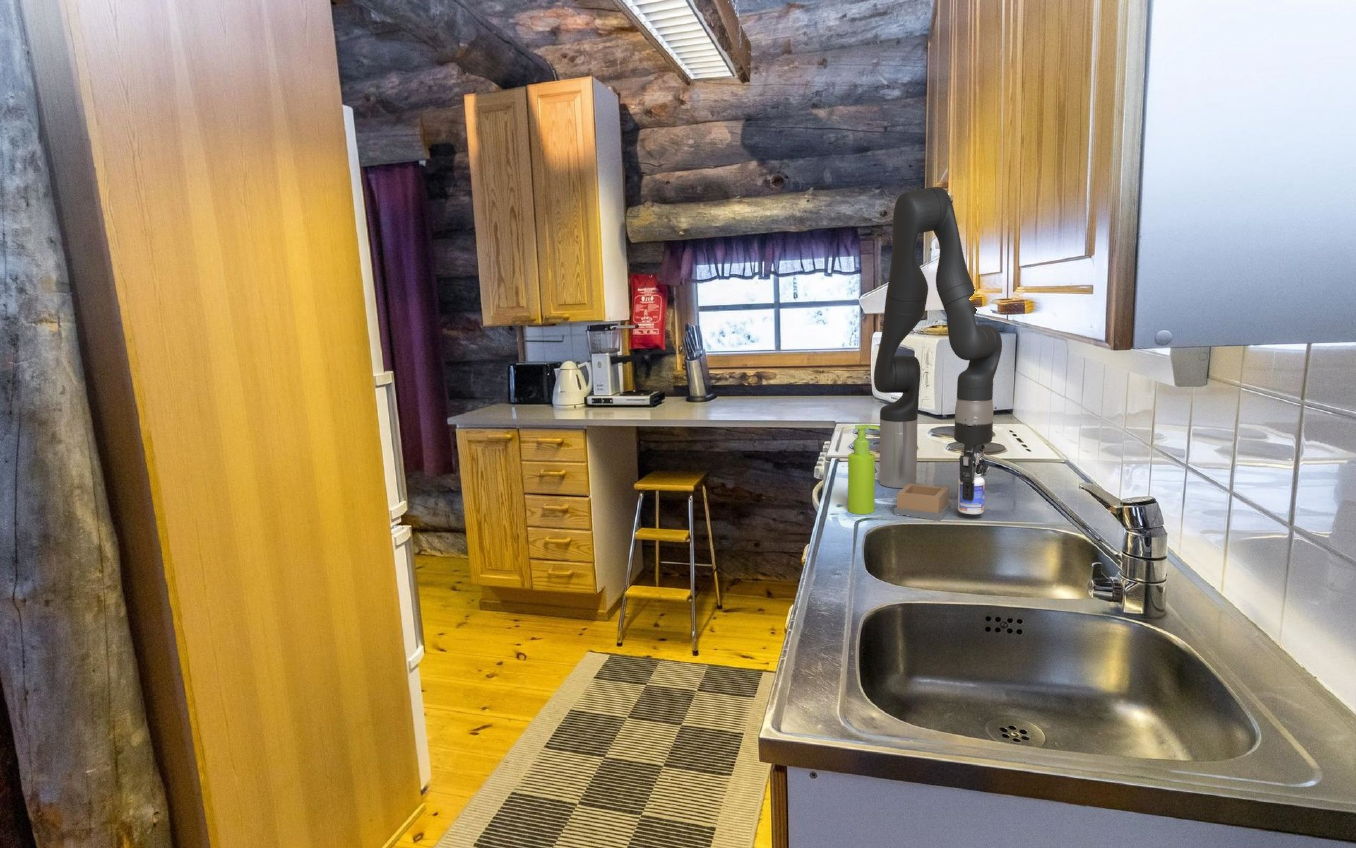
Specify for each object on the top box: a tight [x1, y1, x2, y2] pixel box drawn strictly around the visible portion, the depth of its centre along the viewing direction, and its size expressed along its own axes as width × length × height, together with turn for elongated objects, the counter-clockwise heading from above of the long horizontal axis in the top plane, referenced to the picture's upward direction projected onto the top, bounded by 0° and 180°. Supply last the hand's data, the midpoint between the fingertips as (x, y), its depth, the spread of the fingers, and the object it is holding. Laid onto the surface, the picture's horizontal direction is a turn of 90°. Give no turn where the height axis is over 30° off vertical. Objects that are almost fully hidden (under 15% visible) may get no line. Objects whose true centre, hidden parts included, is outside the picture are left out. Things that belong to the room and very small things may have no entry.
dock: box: [893, 483, 952, 521], centre depth 158 cm, size 10×10×5 cm
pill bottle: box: [957, 468, 986, 515], centre depth 152 cm, size 5×5×10 cm
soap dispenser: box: [847, 424, 880, 515], centre depth 159 cm, size 6×7×20 cm
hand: (970, 495), depth 152 cm, fingers closed on pill bottle, 5 cm apart
